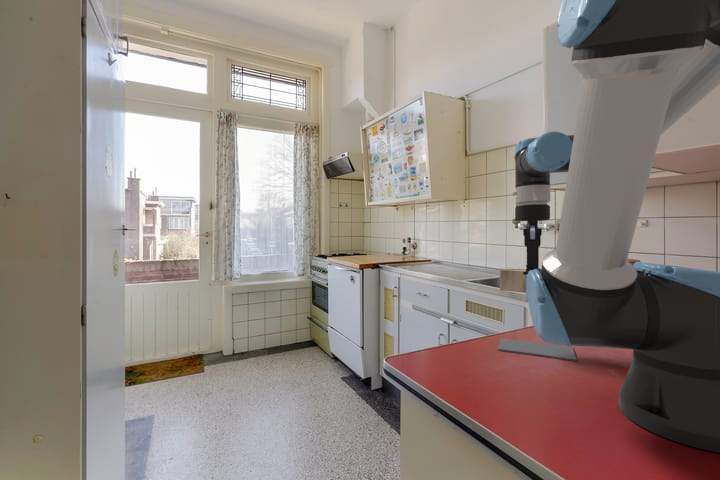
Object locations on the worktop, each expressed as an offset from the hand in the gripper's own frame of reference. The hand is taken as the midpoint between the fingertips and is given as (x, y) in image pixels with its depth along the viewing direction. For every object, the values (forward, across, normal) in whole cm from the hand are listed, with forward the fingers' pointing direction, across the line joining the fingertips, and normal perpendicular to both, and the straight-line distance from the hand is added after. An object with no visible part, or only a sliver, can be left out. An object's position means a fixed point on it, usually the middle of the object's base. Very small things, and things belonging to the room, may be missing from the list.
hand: (532, 299), depth 81 cm
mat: (+12, +1, +1) cm, 12 cm away
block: (-5, 0, -7) cm, 9 cm away
